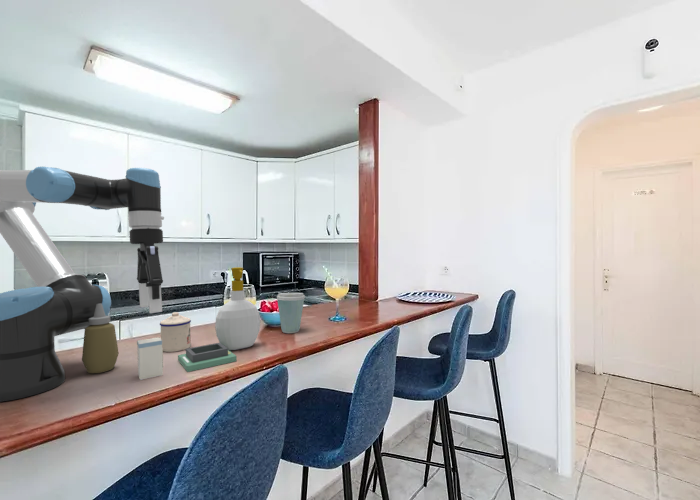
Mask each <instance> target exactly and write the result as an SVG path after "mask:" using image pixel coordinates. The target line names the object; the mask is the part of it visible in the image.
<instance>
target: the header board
mask: <svg viewBox="0 0 700 500" xmlns="http://www.w3.org/2000/svg"><path fill="white" fill-rule="evenodd" d="M177 361H178V362H179V363H180V365H182V367H183V369H184V370H185V371H186V372H187V373H188V372H189V373H190V372H193V371H194V372H195V371H197V370H198V371H199V370H203V369H207V368H208V369H209V368H212V367H216V366H222V365H225V364H230V363H235V362H237V355H236V354H235V353H233V352H232V351H231V350H228V348H226V347H225V346H224V345H222V344H221V343H220V342H214V343H210V344H205V345H204V344H203V345H198V346H194V347H189V348H187V349H185V353H183V354H177Z"/></svg>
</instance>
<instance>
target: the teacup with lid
mask: <svg viewBox="0 0 700 500" xmlns="http://www.w3.org/2000/svg"><path fill="white" fill-rule="evenodd" d="M191 323H192V320H191V318H189V317H186V316H183V315H182V314H180V313H179V312H178V311H177V312H175V311H174V312H172V313H171V315H170V316H168V317H167V318H165V319H162V320H161V321H160V323H159V326H160V339H161V340H162V348H163V353H164V352H166V353H175V352H181V351H184V350H185V351H186V349H187V348H191V346H192V342H191V341H192V340H191V337H192V335H191V334H192V333H191Z"/></svg>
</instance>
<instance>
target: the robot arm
mask: <svg viewBox="0 0 700 500" xmlns="http://www.w3.org/2000/svg"><path fill="white" fill-rule="evenodd" d="M125 172H126V173H125V174H126V175H125V178H121V179H120V178H118V179H107V178H102V177H97V176H92V175H87V174H82V173H77V172H73V171H69V170H64V169H62V168H59V167H58V168H57V167H49V166H36V167H35V168H34V169H0V235H1V236H2V238H3V239H4V241H5V242H6V243H7V245H8V246H9V248H10V249H11V251H12V252H13V254H14V255H15V257H16V258H17V259H18V261H19V262H20V264H21V265H22V267H23V268H24V269H25V271H26V272H27V274H28V275H29V276H30V278H31V280H32V281H33V282H34V284H35V286H33V287H31V286H30V287H27V288H25V287H24V288H18V289H12V290H8V291H4V292H0V402H8V401H9V402H10V401H14V400H19V399H23V398H27V397H31V396H32V397H33V396H35V395H38V394H41V393H44V392H47V391H49V390H52V389H54V388H56V387H58V386H60V385H62V384H63V383H64V382H65V381H66V380H65V379H66V377H65V376H66V375H65V369H64V367H63V365H62V363H61V361H60V359H59V357H58V355H57V353H56V349H55V348H56V347H55V346H56V345H55V337H58V336H61V335H65V334H68V333H73V332H76V331H80V330H85V328H87V327H88V326H90V325H89V318H92V317H94V313H95V309H96V304H102V306H103V309H104V312H105V316H109V314H110V311H111V306H112V298H111V295H110V292H109V291H108V290H107V288H106V287H104V286H102V285H99V284H91V283H90V281H89V279H87V277H86V275H84V274H81V273H76V272H75V271H74V270H73V269H72V267H71V265H70V264H69V263H68V261H67V260H66V259H65V257H64V256H63V255H62V254H63V253H61V252H60V250H59V249H58V247H57V246H56V245H55V243H54V242H53V240H52V239H51V238H50V236H49V235H48V233H47V232H46V230H45V229H44V228H43V226H42V225H41V224H40V222H39V221H38V220H37V218H36V217H35V215H34V212H35V210H36V209H35V207H36V206H37V203H44V204H45V203H48V204H69V205H77V206H78V205H79V206H84V207H89V208H91V209H93V210H105V211H109V210H112V209H123V208H127V217H128V218H127V219H128V227H129V228H130V230H129V243H130V244H132V245H139V247H137V250H136V251H137V276H136V280H137V283H138V297H139V308H148V311H149V314H155V313H161V312H163V302H162V301H163V300H162V284H163V282H164V280H163V274H162V268H161V263H160V257H159V256H160V255H159V247H158V245H155V244H162V243H163V242H164V233H163V230H162V229H161V228H162V227H163V220H164V219H165V217H164V216H162V205H161V204H162V203H161V202H162V201H161V199H162V198H161V188H162V187H161V181H160V175H159V172H157V171H156V170H154V169H151V168H145V167H130V168H129V169H128V168H127V169H126V171H125Z"/></svg>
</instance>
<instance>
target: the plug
mask: <svg viewBox="0 0 700 500" xmlns="http://www.w3.org/2000/svg"><path fill="white" fill-rule="evenodd" d="M136 345H137V348H136V349H137V376H138V378H139V380H140V381H141V380H147V379H152V378H155V377H159V376H164V373H163V368H164V351H163V348H162V340H161V336H160V337H152V338H147V339H140V340H137V341H136Z"/></svg>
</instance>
